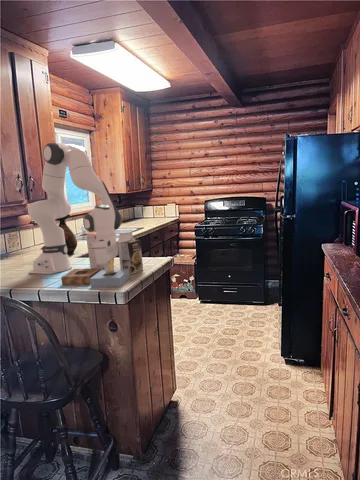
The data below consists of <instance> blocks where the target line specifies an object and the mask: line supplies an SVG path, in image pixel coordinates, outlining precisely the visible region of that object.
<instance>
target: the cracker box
mask: <svg viewBox="0 0 360 480" xmlns="http://www.w3.org/2000/svg"><path fill="white" fill-rule="evenodd" d="M85 239H86V244H87V245H86V246H87V252H88V253H87V254H88V261H89V267H90V268H101V270H105V268H104V265H98V264H97V263H96V258H95V248H93V243H94V242H95V240H96V232H89V233H87V234H85Z"/></svg>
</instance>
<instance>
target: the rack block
mask: <svg viewBox="0 0 360 480" xmlns="http://www.w3.org/2000/svg"><path fill="white" fill-rule="evenodd" d="M100 271H101V268H89V267H88V268H74V269H72V270H70V271H69V272H67V273H65V274H63V275H62V276H61V277H60V278H61V280H60V281H61V286H85V285H89V286H91V283H90V278H92V277H93V276H94V275H96V274H97V273H98V272H100Z"/></svg>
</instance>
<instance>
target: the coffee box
mask: <svg viewBox="0 0 360 480" xmlns="http://www.w3.org/2000/svg"><path fill="white" fill-rule="evenodd" d="M120 245H121V256H122V267H123V269H122V270H126V269H129V275H135V274H137V273H139V272H141V271H143V270H144V265H143V255H142V254H143V253H142V242H141V239H135V240H128V241H125V242H121V243H120Z"/></svg>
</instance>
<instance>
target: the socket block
mask: <svg viewBox="0 0 360 480" xmlns="http://www.w3.org/2000/svg"><path fill="white" fill-rule="evenodd" d="M114 274H115V275H111V276H106V272H105V270H101V271H100V272H98V273H97V274H96V275H94V276H93V277H92V278H90V283H91V284H90V288H113V287H117V288H118V287H119V288H120V287H122V286H123V285H124V284H125V283H126V282H127V280H128V279H130V277H131V276H130V274H129V269H126V270H123V269H114Z"/></svg>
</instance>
